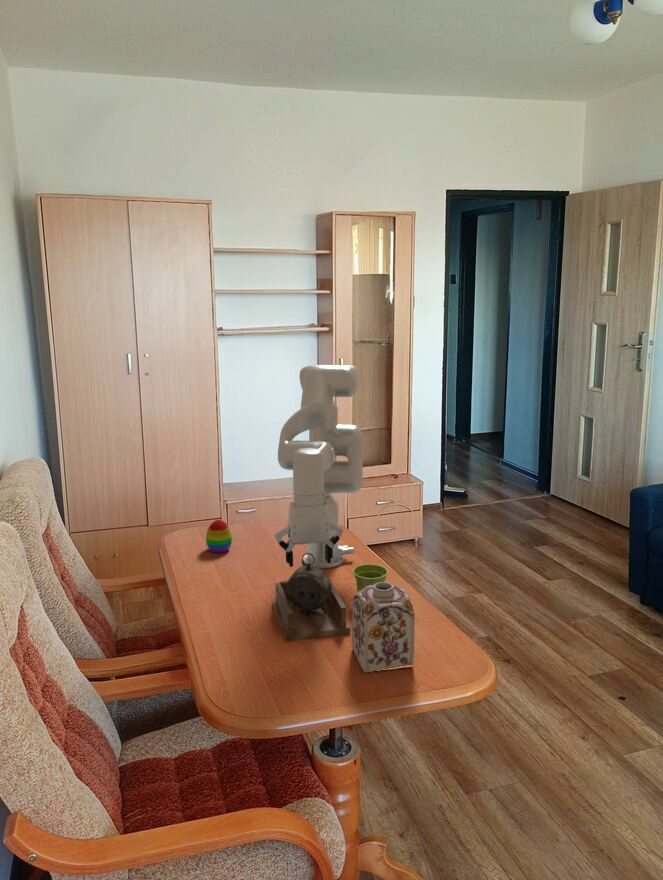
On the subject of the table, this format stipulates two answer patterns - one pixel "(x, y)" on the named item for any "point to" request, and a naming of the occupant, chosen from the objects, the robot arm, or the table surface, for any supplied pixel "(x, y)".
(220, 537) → the decorative egg
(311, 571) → the alarm clock
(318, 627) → the wooden tray
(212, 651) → the table surface
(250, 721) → the table surface
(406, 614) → the decorative jar
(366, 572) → the plant pot
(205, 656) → the table surface
